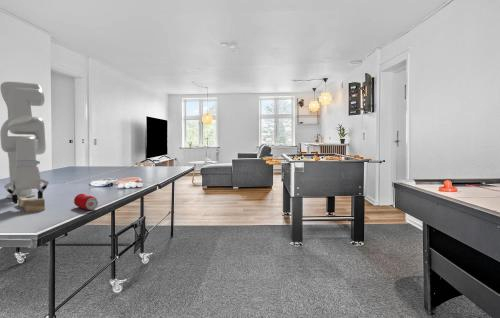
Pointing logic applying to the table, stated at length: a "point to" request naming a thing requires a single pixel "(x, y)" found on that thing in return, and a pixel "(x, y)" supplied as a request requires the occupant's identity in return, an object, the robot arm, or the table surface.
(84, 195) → the beverage can
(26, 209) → the curved plank on base
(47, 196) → the table surface
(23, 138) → the robot arm
